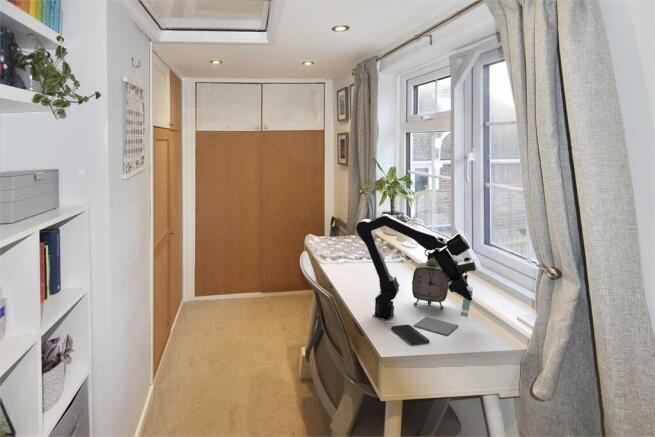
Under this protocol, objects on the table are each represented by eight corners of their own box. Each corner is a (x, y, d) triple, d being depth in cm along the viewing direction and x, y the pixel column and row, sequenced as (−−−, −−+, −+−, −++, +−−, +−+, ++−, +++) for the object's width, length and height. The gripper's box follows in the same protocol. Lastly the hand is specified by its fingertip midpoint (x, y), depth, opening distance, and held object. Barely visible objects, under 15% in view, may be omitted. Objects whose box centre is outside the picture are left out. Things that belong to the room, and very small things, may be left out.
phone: (408, 324, 169) (430, 341, 155) (408, 327, 169) (430, 344, 155) (389, 326, 166) (410, 343, 152) (389, 329, 166) (410, 346, 153)
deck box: (460, 315, 166) (465, 289, 164) (460, 310, 171) (465, 285, 169) (467, 317, 165) (472, 291, 163) (467, 312, 170) (472, 287, 168)
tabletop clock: (410, 307, 189) (414, 248, 185) (412, 300, 198) (416, 244, 193) (446, 312, 185) (451, 252, 181) (447, 304, 193) (452, 247, 189)
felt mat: (413, 326, 169) (413, 325, 169) (425, 317, 178) (425, 316, 178) (447, 335, 162) (447, 334, 161) (458, 326, 170) (458, 325, 170)
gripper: (464, 256, 156) (491, 294, 155) (465, 246, 174) (489, 280, 173) (437, 273, 160) (463, 310, 159) (441, 261, 177) (464, 294, 176)
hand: (471, 298), depth 166 cm, fingers closed on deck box, 5 cm apart
